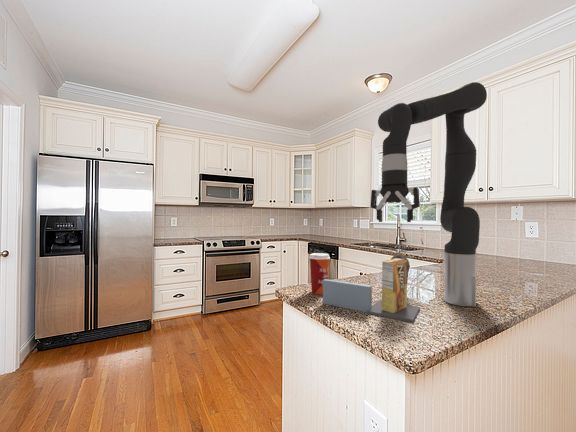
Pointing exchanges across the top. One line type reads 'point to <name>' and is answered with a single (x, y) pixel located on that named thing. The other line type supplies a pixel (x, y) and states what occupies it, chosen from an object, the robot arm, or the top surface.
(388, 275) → the candy box
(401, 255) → the beverage cup
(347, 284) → the screen
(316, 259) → the coffee cup
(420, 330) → the top surface
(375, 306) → the mat
